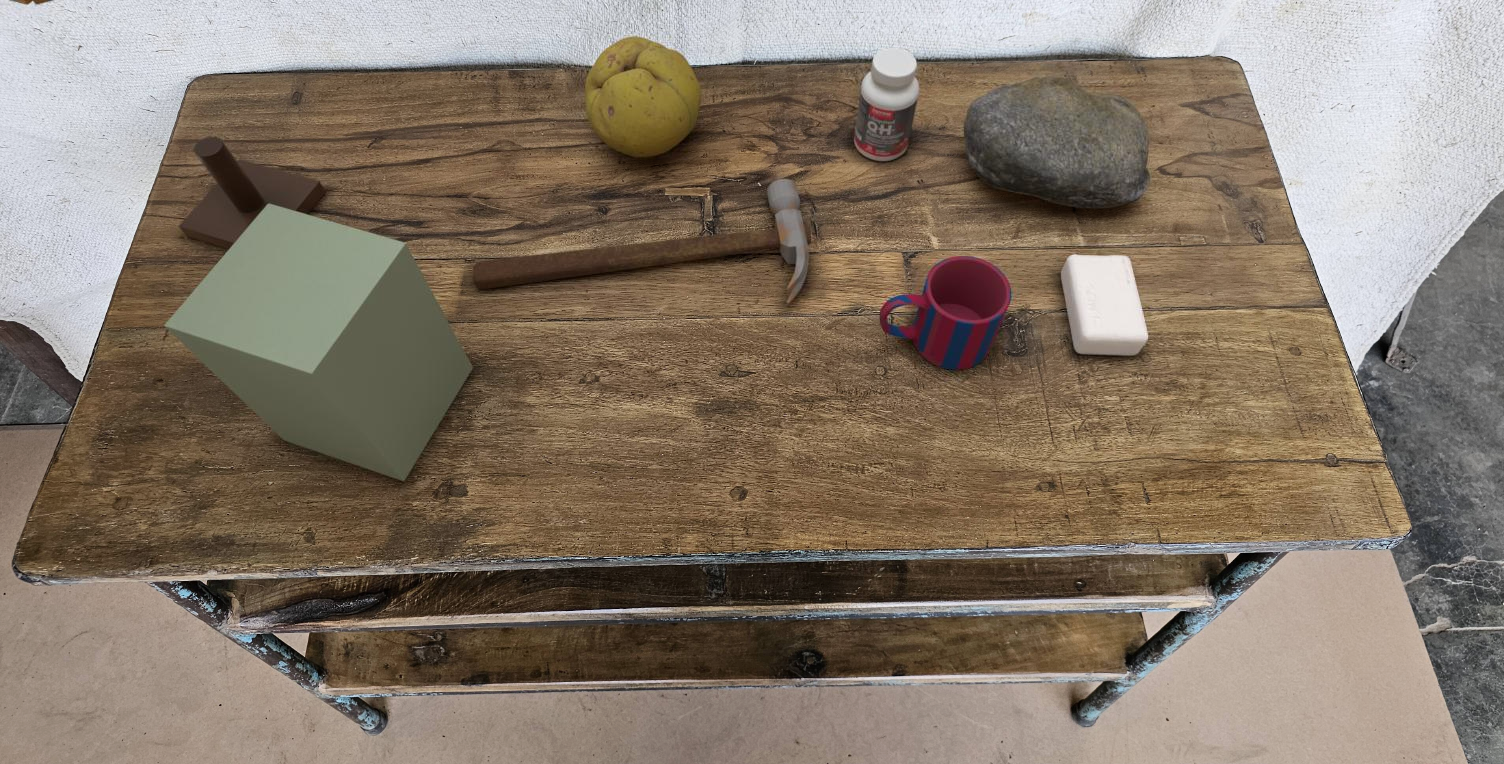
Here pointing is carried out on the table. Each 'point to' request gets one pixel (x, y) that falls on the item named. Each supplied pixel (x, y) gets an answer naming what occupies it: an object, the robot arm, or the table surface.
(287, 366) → the pedestal
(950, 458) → the table surface
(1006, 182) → the stone
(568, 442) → the table surface
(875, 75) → the pill bottle
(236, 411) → the table surface
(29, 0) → the ring
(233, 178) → the stand
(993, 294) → the cup
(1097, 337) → the soap
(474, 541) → the table surface
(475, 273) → the hammer
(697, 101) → the fruit
